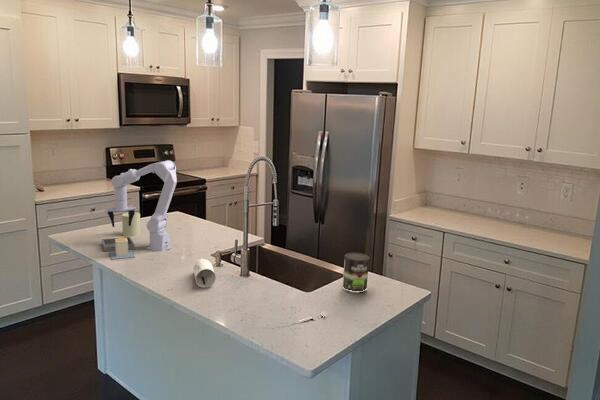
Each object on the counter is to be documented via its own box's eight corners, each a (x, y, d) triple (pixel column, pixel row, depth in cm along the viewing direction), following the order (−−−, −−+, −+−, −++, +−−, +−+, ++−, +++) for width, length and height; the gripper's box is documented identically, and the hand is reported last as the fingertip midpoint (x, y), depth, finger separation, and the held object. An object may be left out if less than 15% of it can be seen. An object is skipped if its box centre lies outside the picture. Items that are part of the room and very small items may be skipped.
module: (126, 252, 225) (126, 237, 223) (128, 255, 221) (127, 240, 219) (115, 253, 223) (114, 238, 221) (116, 256, 218) (116, 241, 217)
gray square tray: (130, 242, 242) (130, 236, 242) (134, 250, 231) (134, 244, 230) (101, 245, 236) (101, 239, 235) (104, 253, 224) (104, 247, 224)
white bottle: (210, 271, 210) (210, 253, 208) (215, 287, 192) (215, 268, 190) (192, 272, 207) (192, 254, 206) (195, 288, 190) (195, 269, 188)
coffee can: (370, 293, 194) (373, 260, 192) (346, 293, 192) (348, 260, 189) (362, 283, 204) (365, 252, 201) (339, 284, 202) (341, 252, 199)
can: (137, 238, 250) (136, 216, 247) (119, 237, 250) (118, 215, 247) (143, 233, 259) (142, 211, 256) (126, 232, 259) (125, 210, 256)
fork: (275, 327, 163) (275, 322, 163) (323, 314, 173) (323, 310, 173) (280, 331, 160) (280, 326, 160) (328, 318, 171) (329, 313, 170)
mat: (131, 252, 228) (131, 250, 228) (135, 258, 219) (134, 256, 219) (109, 254, 223) (109, 252, 223) (111, 261, 215) (111, 259, 215)
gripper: (134, 196, 241) (135, 222, 244) (104, 198, 234) (105, 225, 237) (137, 199, 235) (137, 226, 238) (105, 201, 228) (106, 228, 231)
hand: (121, 226), depth 237 cm, fingers open, 7 cm apart
